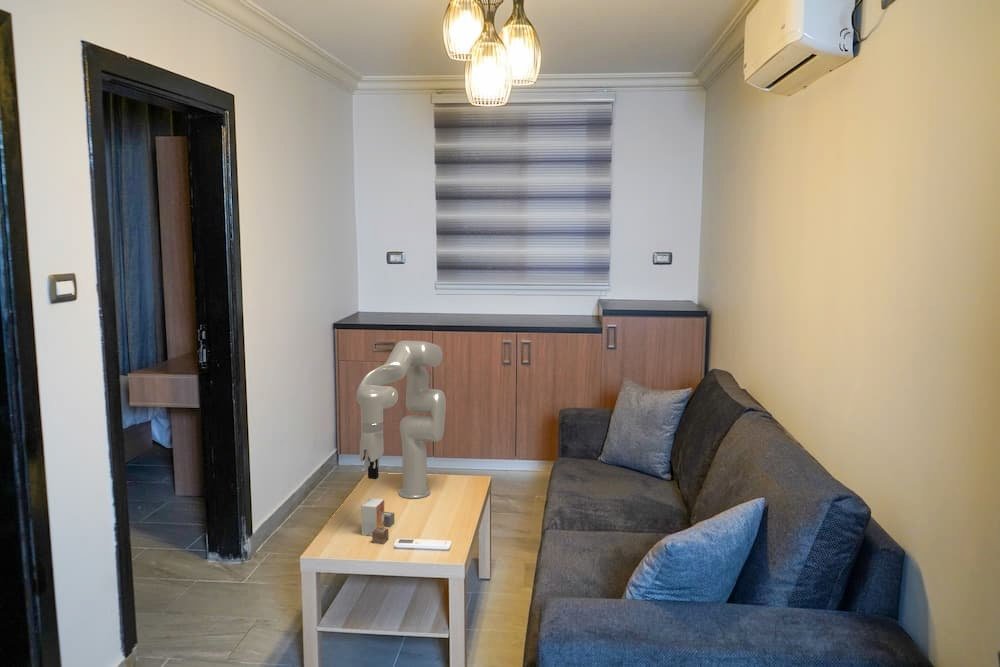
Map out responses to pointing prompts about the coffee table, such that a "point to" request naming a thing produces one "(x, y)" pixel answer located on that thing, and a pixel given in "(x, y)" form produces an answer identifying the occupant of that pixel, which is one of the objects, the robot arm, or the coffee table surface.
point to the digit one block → (388, 519)
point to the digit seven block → (380, 536)
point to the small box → (372, 515)
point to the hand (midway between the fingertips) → (373, 478)
